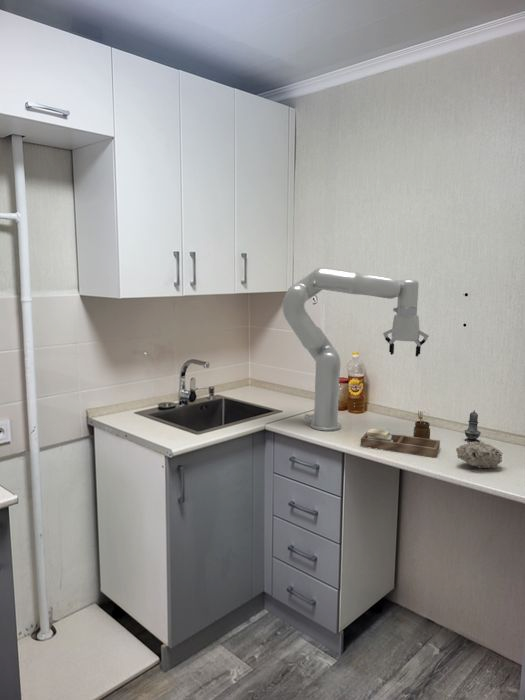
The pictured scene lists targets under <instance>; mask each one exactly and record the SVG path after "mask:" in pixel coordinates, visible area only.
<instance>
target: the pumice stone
mask: <svg viewBox="0 0 525 700" xmlns="http://www.w3.org/2000/svg"><path fill="white" fill-rule="evenodd" d="M456 454H457V456H456V457H457V458H458V459H460V460H462V461H463V462H465V463H467V464H469V465H470V466H472V467H475V468H479V469H481V468H482V469H491V468H493V469H494V468H496V467H498V465H499V464H500V463H502V462H503V452H502V451H501V450H500V449H498V448H496V447H495V446H493V445H491V444H489V443H484V442H480V441H479V442H471V443H464V444H461V445H459V447H456Z"/></svg>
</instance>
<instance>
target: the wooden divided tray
mask: <svg viewBox="0 0 525 700" xmlns="http://www.w3.org/2000/svg"><path fill="white" fill-rule="evenodd" d="M390 435H392V440H393V442H389V441H382V440H375V439H368V436H367V431H366V432H365V433H364V434H363V436H362V437H361V438H360V447H361V446H364V447H363V448H368V447H371V448H370V449H375V448H377V450H381V449H383V450H382V451H388V450H390V451H389V452H395V451H396V452H397V453H401V454H409V455H410V454H411V455H417V456H423V457H429V458H437V456H438V453H439V451H440V446H441V439H439V440H438V439H433V438H430V439H426V438H418V437H413V436H410V435H402V434H396V433H390Z"/></svg>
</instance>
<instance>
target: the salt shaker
mask: <svg viewBox="0 0 525 700" xmlns="http://www.w3.org/2000/svg"><path fill="white" fill-rule="evenodd" d="M478 418H479V414H478V413H477V412H476V411H475V409H473V411H472V412H470V413H469V420H468V421H467V422H468V426H467V429H465V430H463V432H464V434H465V437H466V438H464V442H466V441H467V442H466V443H469V442H479V443H480V440H478V439H479V437H480V435H481V431H480V430H478V425H479V420H478Z"/></svg>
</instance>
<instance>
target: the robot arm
mask: <svg viewBox="0 0 525 700" xmlns="http://www.w3.org/2000/svg"><path fill="white" fill-rule="evenodd" d="M323 290H324V291H328V292H329V291H330V292H336V293H342V294H350V295H359V296H360V295H362V296H363V295H364V296H369V297H370V296H371V297H377V298H383V299H388V300H389V299H391V300H392V299H395V298H397V305H396V307H395V308H394V307H393V309H392V311H393V312H394V313H396V314H395V315H393V322H392V327H391V329H388V330H387V331H385V332H383V333H382V334H383V337H384V339H385V341H386V342H387V344H389V349H388V351H389V353H390V355H391V356H392V355H394V354H395V344H394V343H395V341H400V342H414V343H415V344H416V346H415V357H419V356H420V355H421V347H422V345H424V344H425V343H426V342H427V340H428V339H429V337H430V335H429V334H428V333H425V332H424V331H422V330H420V317H419V315H418V300H419V281H418V280H416V279H401V280H400V279H394V278H387V277H381V276H375V275H369V274H364V273H360V272H356V271H355V272H354V271H350V270H349V271H348V270H343V269H342V270H341V269H335V268H329V267H318V268H316V269H314V270H313V271H311V273H309V274H308V275H306V276H305V277H303V278H302V279H300V280H299V281H297V282H296V283H294V284H292V285H291V286H290V287H289V288H287V291H286V292H285V295H284V298H283V300H282V313H283V317H284V319H285V320H286V322H287V323H288V325H289V326H290V328H291V330H292V331H293V333H294V334H295V335H296V337H297V338H298V340H299V341H300V343H301V345H302V347H304V348H305V349H306V350H307V351H308V352H309V354H310V356H311V357H312V359H314V361H315V379H314V380H315V381H314V408H313V414H308V413H305V414H304V419H305V420H307V421H310V423H309V426H310V428H312V429H314V430H317V431H326V432H327V431H328V432H331V431H338V430H340V429H341V428H342V423H340V422H338V420H339V418H338V417H339V395H340V375H341V374H340V373H341V358H340V354H338V351H337V350H336V348H335V347H334V346H333V344H332V343H331V341H330V340H329V339H328V337H327V336H326V334H325V333H324V332H323V330H322V329H321V328H320V327H318V326H317V325H316V323H314V321H313V319H312V318H311V316H310V315H309V313H308V312H307V311H306V310H307V309H305V303H306V302H307V301H308V300H310V299H312V298H313V297H315V296H317V294H319V293H321V292H322V291H323ZM389 334H391V338H390V337H389ZM420 336H422V337H423V339H422V340H421V341H420V339H419V338H420Z"/></svg>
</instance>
